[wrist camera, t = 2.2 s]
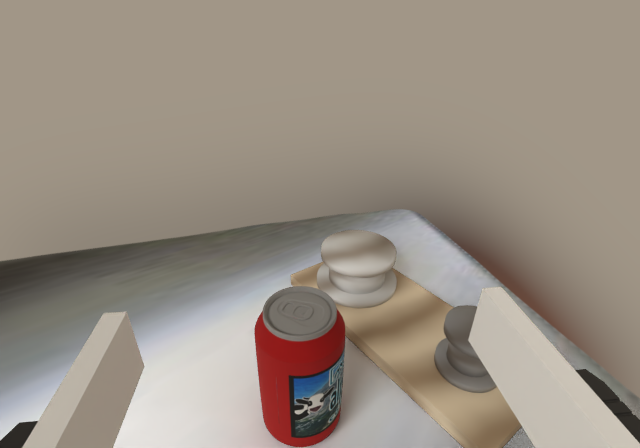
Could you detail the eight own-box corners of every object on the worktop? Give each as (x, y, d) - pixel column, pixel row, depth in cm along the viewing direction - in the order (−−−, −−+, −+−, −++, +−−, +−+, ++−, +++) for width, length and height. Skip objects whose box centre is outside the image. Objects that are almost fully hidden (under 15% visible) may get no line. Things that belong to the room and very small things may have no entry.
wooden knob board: (291, 284, 48) (289, 242, 45) (359, 255, 54) (362, 216, 51) (484, 467, 28) (506, 415, 25) (556, 388, 34) (580, 338, 31)
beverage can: (322, 467, 28) (326, 358, 22) (248, 433, 30) (233, 326, 24) (350, 395, 33) (358, 293, 28) (285, 371, 35) (280, 272, 30)
